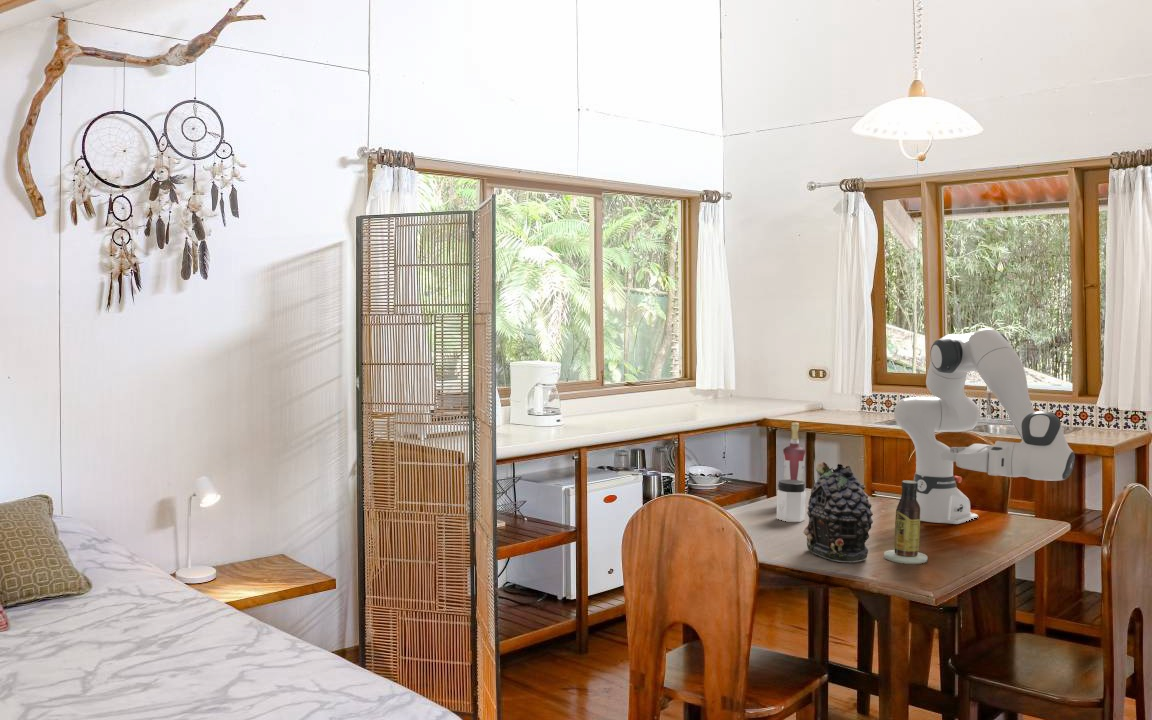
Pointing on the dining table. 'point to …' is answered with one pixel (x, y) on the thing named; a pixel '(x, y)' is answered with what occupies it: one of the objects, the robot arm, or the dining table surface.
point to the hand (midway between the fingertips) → (946, 452)
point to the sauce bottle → (907, 521)
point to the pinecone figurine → (838, 515)
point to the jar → (791, 500)
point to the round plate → (905, 558)
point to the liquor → (794, 457)
